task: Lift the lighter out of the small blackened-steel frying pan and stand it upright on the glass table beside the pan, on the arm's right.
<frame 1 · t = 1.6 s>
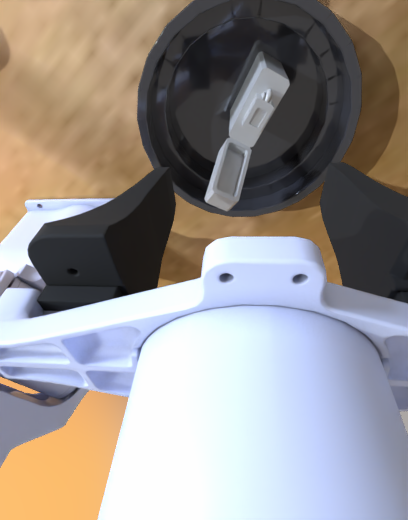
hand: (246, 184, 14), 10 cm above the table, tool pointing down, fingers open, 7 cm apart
pan: (243, 109, 21), on the table
lighter: (243, 109, 21), resting on pan
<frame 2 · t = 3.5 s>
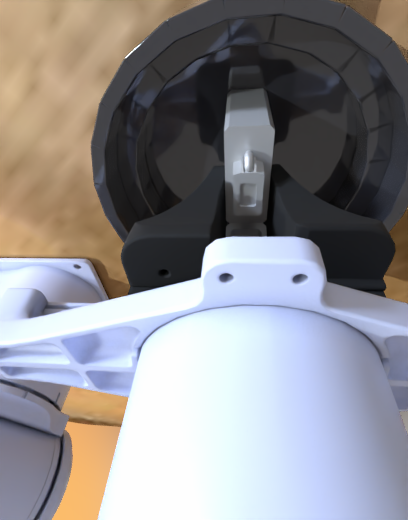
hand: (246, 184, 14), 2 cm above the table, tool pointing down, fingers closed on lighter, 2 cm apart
pan: (246, 161, 16), on the table
lighter: (244, 162, 16), resting on pan, touching gripper
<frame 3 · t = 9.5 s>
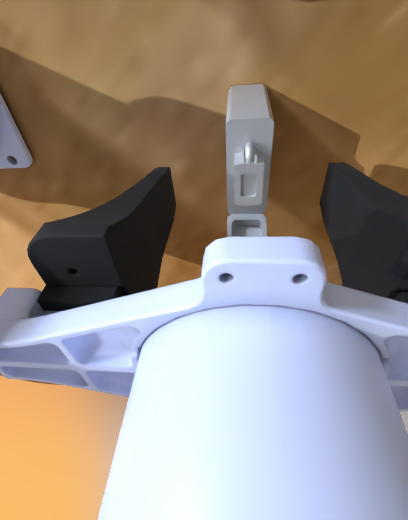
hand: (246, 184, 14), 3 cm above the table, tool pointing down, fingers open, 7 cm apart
lighter: (245, 157, 16), on the table
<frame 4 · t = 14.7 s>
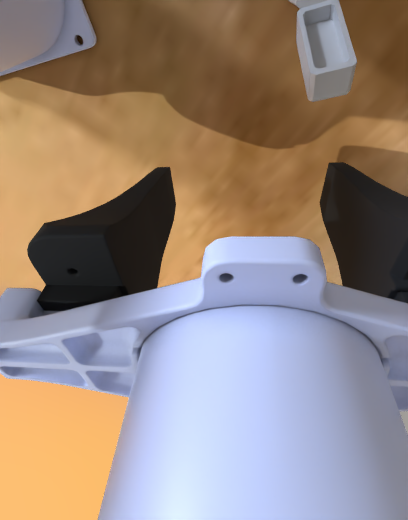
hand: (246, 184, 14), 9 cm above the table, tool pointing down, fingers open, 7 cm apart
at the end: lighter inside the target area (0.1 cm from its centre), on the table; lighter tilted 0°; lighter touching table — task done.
